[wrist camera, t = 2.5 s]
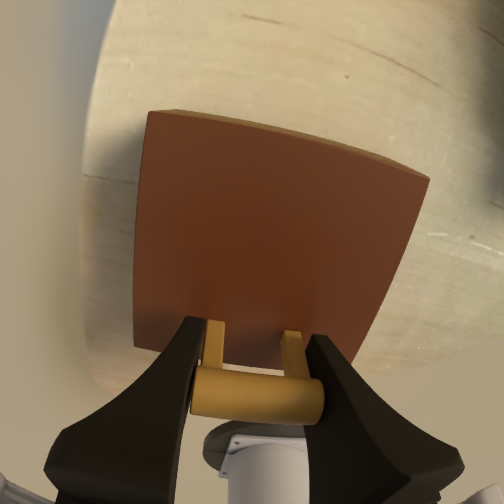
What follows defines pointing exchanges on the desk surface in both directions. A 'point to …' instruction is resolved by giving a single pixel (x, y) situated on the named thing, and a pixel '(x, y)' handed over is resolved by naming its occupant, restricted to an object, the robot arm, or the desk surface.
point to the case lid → (263, 255)
